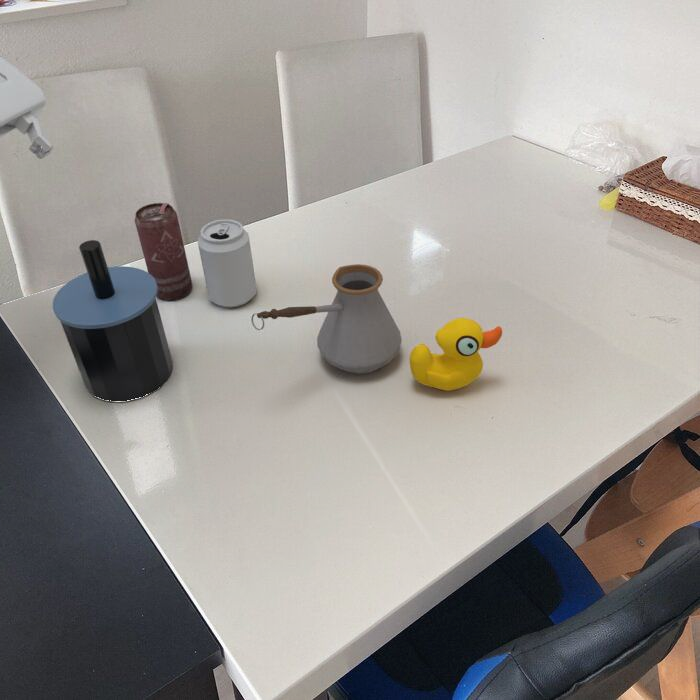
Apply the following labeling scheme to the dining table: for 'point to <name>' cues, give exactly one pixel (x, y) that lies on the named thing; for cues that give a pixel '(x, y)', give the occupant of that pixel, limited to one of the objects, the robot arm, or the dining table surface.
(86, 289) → the lid
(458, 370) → the duckling
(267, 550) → the dining table surface
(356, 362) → the coffee pot
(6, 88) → the robot arm
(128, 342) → the cup
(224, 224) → the can
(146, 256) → the can
